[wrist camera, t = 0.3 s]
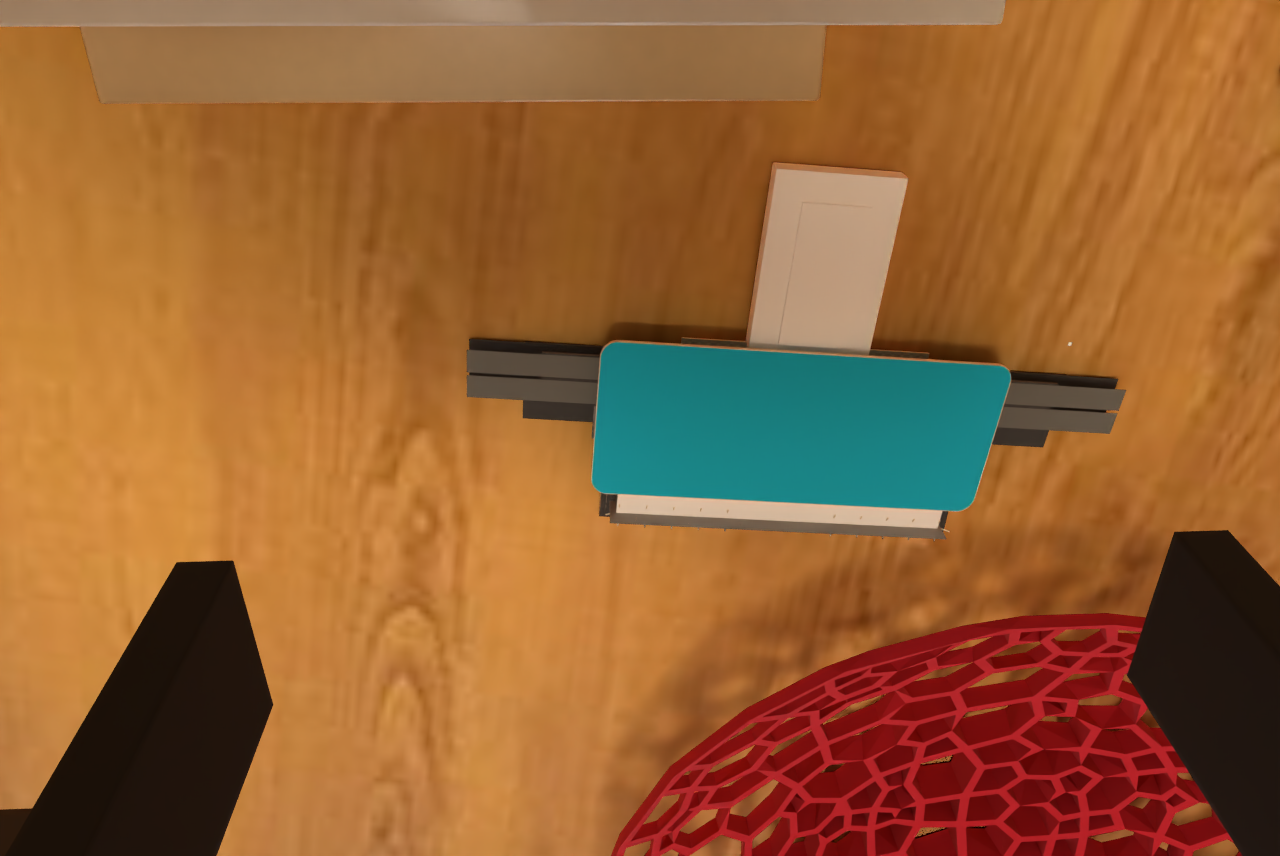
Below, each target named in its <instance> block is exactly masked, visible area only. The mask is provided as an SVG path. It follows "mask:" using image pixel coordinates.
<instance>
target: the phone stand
mask: <svg viewBox="0 0 1280 856" xmlns="http://www.w3.org/2000/svg"><path fill="white" fill-rule="evenodd" d="M907 183H908V178H907V177H906V176H905V175H904V174H903V173H902V172H895V171H882V170H869V169H856V168H843V167H830V166H817V165H804V164H791V163H778V162H773V165H772V171H771V178H770V184H769V191H768V197H767V204H766V210H765V217H764V223H763V230H762V236H761V243H760V249H759V256H758V263H757V269H756V276H755V282H754V289H753V295H752V302H751V308H750V315H749V321H748V328H747V334H746V341H734V340H718V339H702V338H686V337H682V339H681V344H678V343H662V342H646V341H630V340H614V341H611V342H609V343H607V344H606V345H605V346H596V345H580V344H563V343H547V342H531V341H525V342H510V341H494V340H478V339H469V350H467V372H469V375H467V397H478V398H496V399H513V400H523V418H529V419H547V420H565V421H583V422H593V426H592V438H593V439H594V445H593V459H592V472H591V482H592V485H593V487H594V488H595V489H596V490H597V491H599V492H601V495H600V507H599V516H606V517H610V523H617V526H618V524H619V523H620V524H640V525H644V527H645V525H661V526H671V529H672V526H682V527H698V530H699V527H702V528H723V529H724V531H726V529H744V530H764V531H785V532H806V533H826V534H830V536H831V534H847V535H856V537H857V535H868V536H882V539H883V536H888V537H908V540H909V538H930V539H934V541H935V539H946V537H945V535H944V533H943V530H944V531H947V532H950V531H949V530H946V529H944V527H945V523H946V519H947V515H948V511H953V512H958V511H962V510H964V509H966V508H968V507H969V506H970V505H971V504H972V503H973V501H974V500H975V497H976V494H977V490H978V487H979V484H980V481H981V477H982V474H983V471H984V468H985V464H986V461H987V458H988V455H989V452H990V448H991V445H992V444H994V445H1012V446H1030V447H1043V446H1044V443H1045V440H1046V437H1047V434H1048V432H1049V430H1054V431H1072V432H1089V433H1107V434H1110V432H1111V429H1112V426H1113V424H1114V421H1115V419H1116V416H1117V414H1116V413H1106V411H1107V410H1116V411H1119V408H1120V405H1121V403H1122V400H1123V397H1124V395H1125V392H1126V390H1118V389H1115V387H1116V384H1117V381H1118V379H1110V378H1094V377H1078V376H1067V375H1065V374H1049V373H1033V372H1017V371H1009V370H1008V369H1007V368H1006V367H1005V366H1004V365H1002V364H999V363H983V362H967V361H951V360H935V359H928V357H929V353H925V352H909V351H893V350H877V349H870V347H871V343H872V339H873V334H874V330H875V325H876V321H877V316H878V312H879V307H880V303H881V298H882V294H883V290H884V285H885V281H886V276H887V272H888V267H889V263H890V258H891V254H892V249H893V245H894V241H895V236H896V232H897V227H898V223H899V218H900V214H901V209H902V205H903V200H904V196H905V191H906V187H907ZM1071 345H1072V342H1069V343H1068V346H1071Z"/></svg>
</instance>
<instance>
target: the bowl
mask: <svg viewBox="0 0 1280 856" xmlns="http://www.w3.org/2000/svg"><path fill="white" fill-rule="evenodd" d="M1145 619H1146V618H1145V617H1136V616H1127V615H1118V614H1109V613H1097V614H1066V615H1036V616H1020V617H1014V618H1008V619H1002V620H995V621H989V622H983V623H977V624H971V625H965V626H960V627H956V628H952V629H949V630H945V631H941V632H937V633H934V634H930V635H926V636H923V637H919V638H915V639H911V640H908V641H904V642H900V643H896V644H893V645H889V646H885V647H882V648H878V649H874V650H870V651H867V652H865V653H862V654H859V655H857V656H854V657H851V658H849V659H846V660H843V661H841V662H838V663H835V664H832V665H830V666H827V667H825V668H823V669H821V670H819V671H817V672H815V673H813V674H811V675H809V676H807V677H805V678H804V679H802V680H800V681H798V682H796V683H794V684H792V685H790V686H788V687H786V688H784V689H782V690H781V691H779V692H777V693H775V694H773V695H771V696H769V697H767V698H765V699H763V700H761V701H759V702H758V703H756V704H754V705H752V706H750V707H748V708H746V709H745V710H743V711H742V712H741V713H739V714H738V715H737V716H736V717H734V718H733V719H732V720H730V721H729V722H728V723H726V724H725V725H724V726H722V727H721V728H720V729H719V730H717V731H716V732H715V733H713V734H712V735H711V736H709V737H708V738H707V739H705V740H704V741H703V742H702V743H700V744H699V745H698V746H696V747H695V748H694V749H692V750H691V751H690V752H689V753H687V754H686V755H685V756H683V757H682V758H681V759H679V760H678V761H677V762H675V763H674V764H673V765H672V766H670V767H669V769H668V770H667V771H666V773H665V774H664V775H663V777H662V778H661V779H660V781H659V782H658V783H657V785H656V786H655V787H654V789H653V790H652V791H651V793H650V794H649V795H648V797H647V798H646V799H645V801H644V802H643V803H642V805H641V806H640V807H639V809H638V810H637V811H636V813H635V814H634V815H633V817H632V818H631V819H630V821H629V822H628V823H627V825H626V826H625V827H624V829H623V830H622V831H621V833H620V834H619V837H618V840H617V842H616V845H615V847H614V850H613V852H612V855H611V856H623V855H624V852H625V850H626V848H627V847H631V846H634V845H637V844H640V843H643V842H647V841H650V840H651V844H650V849H649V850H648V851H647V853H646V854H645V856H661V855H662V854H664V853H666V852H667V851H669V850H671V849H673V850H675V851H677V852H679V855H678V856H689V855H691V854H692V853H694V852H695V851H697V850H698V849H700V848H701V847H703V846H704V845H706V844H707V843H709V842H710V841H712V840H713V839H715V838H716V837H718V836H720V835H724V836H727V837H730V838H733V839H736V840H739V841H741V856H1193V852H1194V851H1195V850H1198V849H1201V848H1204V847H1206V846H1209V845H1212V844H1215V843H1218V842H1221V841H1224V840H1226V839H1228V840H1230V841H1231V842H1233V840H1232V839H1231V837H1230V836H1229V834H1228V833H1227V831H1226V829H1225V828H1224V826H1223V825H1222V823H1221V822H1220V820H1219V818H1218V817H1217V815H1216V814H1215V812H1214V811H1213V809H1212V817H1209V818H1205V819H1201V820H1198V821H1194V822H1190V823H1187V824H1183V825H1180V826H1177V825H1175V824H1173V823H1171V821H1172V819H1173V817H1174V815H1175V813H1177V812H1179V811H1181V810H1183V809H1186V808H1188V807H1190V806H1193V805H1195V804H1197V803H1199V802H1201V803H1207V804H1209V803H1208V801H1207V800H1206V798H1205V797H1204V795H1203V793H1202V792H1201V790H1200V789H1199V787H1198V786H1197V784H1196V783H1195V781H1191V780H1184V779H1182V778H1180V777H1179V776H1178V775H1177V773H1189V772H1188V770H1187V768H1186V767H1185V765H1184V764H1183V762H1182V761H1181V759H1180V757H1179V756H1178V754H1177V753H1176V751H1175V750H1174V748H1173V747H1172V745H1171V743H1170V742H1169V740H1168V739H1167V737H1166V736H1165V734H1164V732H1163V731H1162V729H1161V728H1150V727H1148V726H1147V725H1146V724H1145V723H1144V722H1143V721H1142V720H1141V719H1140V718H1141V717H1142V715H1143V714H1144V713H1145V711H1146V710H1147V709H1148V707H1147V706H1146V704H1145V703H1144V701H1143V700H1142V698H1141V697H1140V695H1139V693H1138V692H1137V690H1136V689H1135V687H1134V686H1133V684H1131V683H1128V682H1125V681H1123V680H1122V679H1123V677H1124V674H1127V673H1128V670H1129V667H1130V664H1131V661H1132V658H1133V655H1134V652H1135V649H1136V646H1137V643H1138V640H1139V637H1140V634H1141V633H1133V634H1129V633H1118V630H1126V631H1136V632H1141V631H1142V628H1143V625H1144V622H1145ZM1067 629H1100V631H1098V632H1097V633H1095V634H1093V635H1091V636H1090V637H1088V638H1086V639H1084V640H1082V641H1056V640H1055V639H1054V637H1056V636H1057V635H1059V634H1060V633H1062V632H1063V631H1065V630H1067ZM987 637H991V638H989V639H987V640H985V641H983V642H981V643H979V644H977V645H975V646H973V647H969V648H964V649H958V650H953V651H949V650H951V649H953V648H955V647H957V646H959V645H961V644H964V643H966V642H968V641H970V640H975V639H981V638H987ZM1032 642H1040V643H1042V644H1040V645H1038V646H1037V647H1035V648H1033V649H1031V650H1029V651H1027V652H1025V653H1018V654H1011V655H1005V656H998V657H992V656H994V655H996V654H998V653H1000V652H1002V651H1004V650H1006V649H1008V648H1010V647H1012V646H1014V645H1018V644H1025V643H1032ZM990 657H991V658H990ZM971 662H973V663H971ZM966 663H971V664H969V665H967V666H965V667H963V668H961V669H959V670H958V671H956V672H954V673H952V674H950V675H948V676H945V677H939V678H933V679H927V680H920V681H915V680H917V679H919V678H921V677H923V676H925V675H926V674H928V673H930V672H932V671H934V670H938V669H943V668H947V667H952V666H957V665H961V664H966ZM1033 667H1041V668H1042V669H1041V670H1039V671H1037V672H1036V673H1034V674H1033V675H1031V676H1029V677H1028V678H1026V679H1025V680H1018V681H1012V682H1005V683H999V684H992V685H986V686H979V687H973V688H968V687H970V686H972V685H973V684H975V683H977V682H979V681H980V680H982V679H984V678H985V677H987V676H989V675H991V674H992V673H999V672H1005V671H1012V670H1019V669H1026V668H1033ZM1081 673H1100V675H1098V676H1092V677H1087V678H1081V679H1076V680H1070V681H1065V680H1066V679H1067V678H1068V677H1070V676H1071V675H1072V674H1081ZM913 681H914V682H913ZM1063 681H1064V682H1063ZM886 693H888V694H886ZM883 694H886V695H885V696H884V697H882V698H881V699H880V700H878V701H877V702H876V703H875V704H873V705H870V706H868V707H865V708H863V709H861V710H858V711H856V712H853V713H851V714H849V715H846V716H844V717H841V718H839V719H837V720H834V721H832V722H829V723H827V724H825V725H823V723H824V722H825V721H827V720H828V719H830V718H831V717H833V716H834V715H836V714H837V713H839V712H841V711H842V710H844V709H845V708H847V707H848V706H850V705H851V704H854V703H858V702H861V701H864V700H867V699H870V698H874V697H877V696H880V695H883ZM1109 694H1112V695H1115V696H1118V697H1120V698H1123V700H1122V701H1121V702H1120V704H1119V705H1118V706H1093V705H1078V702H1079V700H1081V699H1087V698H1092V697H1098V696H1104V695H1109ZM1006 705H1010V706H1008V707H1007V708H1005V709H1001V710H997V711H992V712H988V713H984V714H979V715H975V716H971V717H966V718H962V717H963V716H964V715H965V714H966V712H971V711H977V710H982V709H988V708H994V707H1000V706H1006ZM1045 716H1061V717H1071V719H1070V720H1069V722H1068V723H1067V722H1050V721H1039V720H1041V719H1042V718H1043V717H1045ZM792 717H796V718H794V719H791V720H789V721H787V722H785V723H783V722H784V721H785V720H786V719H788V718H792ZM758 722H759V723H758ZM751 723H757V724H756V725H755V726H754V727H753V728H751V729H750V730H748V731H746V732H744V733H742V734H740V735H739V736H737V737H735V738H733V739H731V738H732V737H733V736H735V735H736V734H737V733H739V732H740V731H741V730H743V729H744V728H745V727H747V726H748V725H749V724H751ZM781 723H783V724H781ZM780 724H781V725H780ZM880 724H881V725H880ZM877 725H879V726H877ZM875 726H877V727H875ZM872 727H875V728H873V729H871V730H869V731H867V732H865V733H864V734H862V735H856V736H853V735H855V734H858V733H860V732H863V731H865V730H867V729H870V728H872ZM1103 729H1128V730H1121V731H1114V732H1112V731H1107V730H1103ZM809 730H811V732H810V733H808V734H807V735H805V736H803V737H802V738H800V739H799V740H797V741H796V742H794V743H792V744H791V745H789V746H788V747H786V748H785V749H783V750H781V751H780V752H778V753H777V754H775V755H774V756H772V755H769V754H770V753H771V752H772V751H773V750H774V748H775V747H776V746H777V745H779V744H781V743H783V742H785V741H787V740H789V739H792V738H794V737H796V736H798V735H800V734H802V733H805V732H807V731H809ZM729 739H731V740H729ZM728 740H729V741H728ZM726 741H727V742H726ZM725 742H726V743H725ZM754 744H755V746H754V748H753V749H752V750H751V751H750V752H749V753H748V755H747V756H746V757H744V758H742V759H740V760H738V761H736V762H734V763H732V764H730V765H728V766H726V767H724V768H722V769H720V770H718V771H716V772H711V773H708V772H709V771H710V770H711V769H712V767H713V766H715V765H717V764H719V763H721V762H723V761H724V760H726V759H728V758H730V757H732V756H734V755H736V754H738V753H739V752H741V751H743V750H745V749H747V748H749V747H751V746H753V745H754ZM953 754H954V756H953V758H952V760H951V762H948V763H940V764H933V765H925V766H920V764H921V763H925V762H928V761H932V760H935V759H939V758H943V757H946V756H950V755H953ZM841 763H845V764H844V765H843V766H841V767H840V768H838V769H837V770H835V771H831V772H823V773H820V772H821V771H823V770H824V769H825V768H827V767H828V766H829V765H834V764H841ZM687 771H691V772H690V774H689V775H684V774H685V773H686V772H687ZM741 777H742V778H741ZM739 778H741V779H739ZM737 779H739V780H738V781H736V782H735V783H733V784H732V785H731V786H728V787H723V788H720V787H722V786H724V785H727V784H729V783H731V782H733V781H735V780H737ZM773 779H775V780H776V781H778V782H779V783H778V785H777V786H776V787H775V789H774V790H773V792H772V793H771V794H770V795H769V796H768V797H767V798H766V799H765V800H764V801H762V802H761V803H760V804H759V805H758V806H757V807H756V808H755V809H754V810H753V811H752V812H751V813H750V814H749V815H748V816H747V817H743V816H738V815H733V814H730V809H731V807H733V806H734V805H735V804H737V803H738V802H740V801H741V800H743V799H744V798H746V797H747V796H749V795H750V794H752V793H753V792H755V791H756V790H758V789H759V788H761V787H762V786H764V785H765V784H767V783H768V782H770V781H771V780H773ZM694 792H696V793H694ZM675 794H680V796H679V799H678V801H677V802H676V803H675V804H674V805H673V806H672V807H671V808H669V809H668V810H667V811H666V812H665V813H664V814H663V815H662V816H661V817H660V818H659V819H658V820H657V821H654V822H650V823H647V824H643V823H644V822H645V821H646V819H647V818H648V817H649V815H650V814H651V813H652V811H653V810H654V808H655V807H656V806H657V804H658V803H659V802H660V800H661V799H662V797H664V796H669V795H675ZM1138 797H1143V798H1149V799H1151V800H1150V801H1149V803H1148V804H1147V805H1146V806H1145V807H1144V808H1143V809H1140V808H1137V807H1134V806H1131V805H1128V804H1130V803H1131V802H1132V801H1134V800H1135V799H1136V798H1138ZM709 809H718V812H717V814H716V817H715V818H714V819H712V820H711V821H709V822H708V823H706V824H705V825H703V826H701V827H700V828H698V829H697V830H695V831H694V832H692V833H691V834H687V833H684V832H681V831H680V829H681V828H682V827H683V826H685V825H686V824H687V823H688V822H689V821H690V820H691V819H692V818H693V817H694V816H696V815H697V814H698V813H699V812H700V811H701V810H709ZM778 817H782V818H781V820H780V822H779V823H778V825H777V826H776V828H775V830H774V831H773V833H772V835H771V836H770V838H768V839H767V840H765V841H764V842H762V843H761V844H759V845H758V846H756V847H755V848H753V849H752V839H754V838H755V837H756V836H757V835H758V834H759V833H761V832H762V831H763V830H764V829H765V828H766V827H767V826H769V825H770V824H771V823H772V822H773V821H774V820H775V819H777V818H778ZM974 826H987V827H986V828H985V829H981V828H966V827H974ZM921 827H948V829H945V830H942V831H939V832H936V833H933V834H930V835H926V836H923V837H920V838H917V839H914V838H915V836H916V835H917V833H918V831H919V830H920V828H921ZM1123 829H1127V830H1130V831H1133V832H1134V835H1132V836H1128V837H1123V838H1119V839H1115V840H1111V841H1106V842H1102V843H1101V842H1099V841H1096V840H1094V839H1091V838H1088V837H1089V836H1094V835H1098V834H1103V833H1108V832H1113V831H1118V830H1123ZM846 831H851V832H850V833H849V834H847V835H846V836H845V837H843V838H842V839H841V840H839V841H838V842H837V843H834V842H830V841H832V840H834V839H835V838H837V837H838V836H840V835H841V834H843V833H844V832H846ZM666 834H667V835H666ZM664 835H665V836H664ZM662 836H663V837H662ZM804 836H806V837H805V839H804V841H801V842H797V843H793V842H794V840H795V838H799V837H804ZM1161 842H1165V843H1167V844H1169V845H1168V848H1167V851H1166V850H1164V849H1162V848H1160V847H1159V846H1160V844H1161ZM792 843H793V844H792ZM1233 843H1234V842H1233ZM1236 856H1242V854H1241V853H1240V851H1239V852H1238V854H1237V855H1236Z"/></svg>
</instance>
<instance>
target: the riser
mask: <svg viewBox="0 0 1280 856" xmlns="http://www.w3.org/2000/svg"><path fill="white" fill-rule="evenodd" d="M826 28H827V25H632V26H82V27H80V30H81V34H82V38H83V41H84V45H85V49H86V53H87V56H88V60H89V64H90V68H91V72H92V75H93V79H94V83H95V87H96V90H97V94H98V98H99V101H100V103H103V104H181V103H408V102H635V101H816V100H819V98H820V93H821V82H822V71H823V60H824V50H825V39H826Z"/></svg>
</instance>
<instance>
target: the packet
mask: <svg viewBox="0 0 1280 856" xmlns="http://www.w3.org/2000/svg"><path fill="white" fill-rule="evenodd" d="M1005 3H1006V0H0V27H82V26H632V25H998V24H1000V23H1001V22H1002V20H1003V14H1004V9H1005Z"/></svg>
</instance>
